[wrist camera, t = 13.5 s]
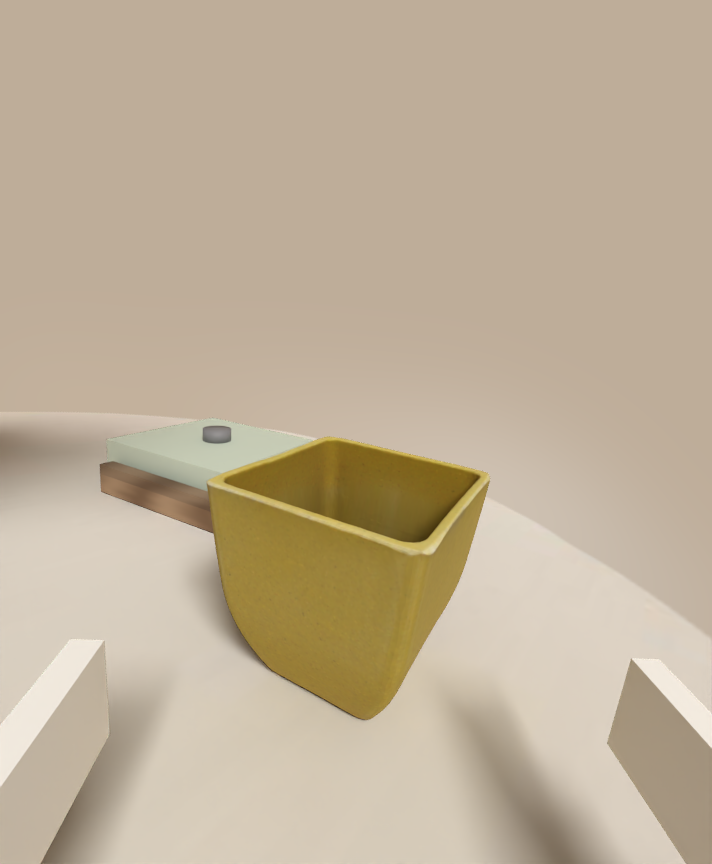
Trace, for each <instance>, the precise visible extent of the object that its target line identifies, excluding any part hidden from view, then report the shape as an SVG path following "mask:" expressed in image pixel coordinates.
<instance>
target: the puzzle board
mask: <svg viewBox="0 0 712 864" xmlns="http://www.w3.org/2000/svg"><path fill="white" fill-rule="evenodd" d="M100 477H101V492H104V493H107V494H109V495H112V496H115V497H117V498H120V499H123V500H126V501H128V502H131V503H134V504H136V505H139V506H142V507H144V508H147V509H150V510H153V511H155V512H158V513H161V514H163V515H166V516H169V517H171V518H174V519H177V520H180V521H182V522H185V523H188V524H190V525H193V526H196V527H198V528H201V529H204V530H207V531H209V532H212V533H214V531H213V524H212V517H211V510H210V503H209V496H208V491H205V490H202V489H199V488H195V487H192V486H189V485H186V484H183V483H180V482H177V481H174V480H171V479H167V478H164V477H161V476H158V475H155V474H152V473H149V472H146V471H142V470H139V469H136V468H133V467H130V466H127V465H124V464H121V463H118V462H114V461H111V462H107V463H103V464H100Z"/></svg>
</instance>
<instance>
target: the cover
mask: <svg viewBox="0 0 712 864" xmlns="http://www.w3.org/2000/svg"><path fill="white" fill-rule="evenodd" d="M106 441H107V461H108V462H111V461H114V462H118V463H121V464H124V465H127V466H130V467H133V468H136V469H139V470H142V471H146V472H149V473H152V474H155V475H158V476H161V477H164V478H167V479H171V480H174V481H177V482H180V483H183V484H186V485H189V486H192V487H195V488H199V489H202V490H205V491H208V489H207V483H206V482H207V481H208V480H209V479H211V478H213V477H215V476H217V475H220V474H222V473H224V472H227V471H230V470H233V469H236V468H239V467H242V466H245V465H247V464H251V463H254V462H257V461H260V460H264V459H267V458H270V457H273V456H276V455H279V454H281V453H284V452H286V451H289V450H291V449H294V448H296V447H299V446H302V445H305V444H307V443H309V442H312V441H313V440H309V439H305V438H301V437H296V436H292V435H287V434H283V433H279V432H274V431H270V430H265V429H261V428H256V427H252V426H248V425H243V424H239V423H234V422H230V421H226V420H221V419H217V418H209V419H204V420H199V421H194V422H189V423H184V424H179V425H174V426H170V427H165V428H160V429H155V430H150V431H145V432H140V433H135V434H130V435H125V436H120V437H115V438H110V439H106Z"/></svg>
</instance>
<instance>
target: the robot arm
mask: <svg viewBox="0 0 712 864" xmlns="http://www.w3.org/2000/svg"><path fill="white" fill-rule="evenodd" d="M109 734H110V729H109V712H108V694H107V676H106V659H105V641H104V640H86V639H70V640H69V641H68V643H67V644H66V645H65V646H64V648H63V649H62V650H61V651H60V652H59V654H58V655H57V656H56V657H55V659H54V660H53V661H52V662H51V663H50V665H49V666H48V667H47V668H46V670H45V671H44V672H43V673H42V674H41V676H40V677H39V678H38V679H37V681H36V682H35V683H34V684H33V685H32V687H31V688H30V689H29V690H28V692H27V693H26V694H25V695H24V696H23V698H22V699H21V700H20V701H19V703H18V704H17V705H16V706H15V708H14V709H13V710H12V711H11V712H10V714H9V715H8V716H7V717H6V719H5V720H4V721H3V722H2V723H1V725H0V864H41V862H42V860H43V858H44V856H45V854H46V853H47V851H48V849H49V847H50V845H51V843H52V841H53V839H54V838H55V836H56V834H57V832H58V830H59V828H60V826H61V824H62V823H63V821H64V819H65V817H66V815H67V813H68V811H69V809H70V808H71V806H72V804H73V802H74V800H75V798H76V796H77V794H78V793H79V791H80V789H81V787H82V785H83V783H84V781H85V779H86V778H87V776H88V774H89V772H90V770H91V768H92V766H93V764H94V763H95V761H96V759H97V757H98V755H99V753H100V751H101V749H102V748H103V746H104V744H105V742H106V740H107V738H108V736H109ZM607 744H608V745H609V747H610V748H611V750H612V751H613V753H614V754H615V756H616V757H617V759H618V760H619V762H620V764H621V765H622V767H623V768H624V770H625V771H626V773H627V774H628V776H629V777H630V779H631V780H632V782H633V783H634V785H635V786H636V788H637V789H638V791H639V792H640V794H641V796H642V797H643V799H644V800H645V802H646V803H647V805H648V806H649V808H650V809H651V811H652V812H653V814H654V815H655V817H656V818H657V820H658V821H659V823H660V824H661V826H662V828H663V829H664V831H665V832H666V834H667V835H668V837H669V838H670V840H671V841H672V843H673V844H674V846H675V847H676V849H677V850H678V852H679V853H680V855H681V856H682V858H683V859H684V861H685V863H686V864H712V713H711V712H710V711H709V710H708V709H707V708H706V707H705V706H704V705H703V704H702V703H701V702H700V701H699V700H698V699H697V698H696V697H695V696H694V695H693V694H692V693H691V692H690V690H689V689H688V688H687V687H686V686H685V685H684V684H683V683H682V682H681V681H680V680H679V679H678V678H677V677H676V676H675V675H674V674H673V673H672V672H671V671H670V670H669V669H668V668H667V667H666V666H665V665H664V664H663V663H662V662H661V661H660V660H659V659H635V658H631V661H630V665H629V668H628V672H627V675H626V679H625V682H624V686H623V689H622V693H621V696H620V700H619V703H618V707H617V710H616V714H615V717H614V721H613V724H612V728H611V731H610V735H609V738H608V742H607Z"/></svg>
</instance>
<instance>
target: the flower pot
mask: <svg viewBox="0 0 712 864" xmlns="http://www.w3.org/2000/svg"><path fill="white" fill-rule="evenodd" d="M489 482H490V476H489V474H488V473H486V472H483V471H479V470H475V469H471V468H467V467H463V466H459V465H455V464H451V463H446V462H441V461H437V460H433V459H429V458H425V457H420V456H416V455H411V454H407V453H403V452H398V451H394V450H390V449H386V448H381V447H377V446H373V445H369V444H364V443H360V442H356V441H351V440H347V439H342V438H335V437H324V438H320V439H317V440H314V441H312V442H309V443H307V444H305V445H302V446H299V447H296V448H294V449H291V450H289V451H286V452H284V453H281V454H279V455H276V456H273V457H270V458H267V459H264V460H260V461H257V462H254V463H251V464H247V465H245V466H242V467H239V468H236V469H233V470H230V471H227V472H224V473H222V474H220V475H217V476H215V477H213V478H211V479H209V480H208V481H207V482H206V483H207V489H208V496H209V503H210V510H211V517H212V524H213V531H214V538H215V545H216V552H217V558H218V564H219V570H220V576H221V582H222V587H223V591H224V595H225V598H226V601H227V604H228V607H229V610H230V612H231V614H232V617H233V619H234V621H235V623H236V625H237V626H238V628H239V630H240V631H241V633H242V635H243V636H244V638H245V639H246V641H247V642H248V643H249V645H250V646H251V647H252V649H253V650H254V651H255V652H256V654H257V655H258V656H259V657H260V658H261V659H262V661H263V662H264V663H265V664H266V665H267V666H268V667H269V668H270V669H271V670H272V671H274V672H276V673H277V674H279V675H281V676H283V677H285V678H287V679H288V680H290V681H292V682H294V683H296V684H297V685H299V686H301V687H303V688H305V689H307V690H309V691H310V692H312V693H314V694H316V695H318V696H320V697H321V698H323V699H325V700H327V701H328V702H330V703H332V704H334V705H335V706H337V707H339V708H341V709H342V710H344V711H346V712H348V713H350V714H352V715H353V716H355V717H358V718H360V719H365V720H368V719H371V718H373V717H374V716H376V715H377V714H378V713H380V712H381V711H382V710H383V709H384V708H385V707H386V706H387V705H388V704H389V703H390V702H391V700H392V699H393V697H394V696H395V694H396V693H397V691H398V689H399V688H400V686H401V684H402V682H403V680H404V678H405V676H406V675H407V673H408V671H409V669H410V667H411V665H412V664H413V662H414V660H415V658H416V656H417V655H418V653H419V651H420V649H421V648H422V646H423V644H424V642H425V641H426V639H427V637H428V635H429V634H430V632H431V630H432V629H433V627H434V625H435V624H436V622H437V620H438V619H439V617H440V615H441V614H442V612H443V611H444V609H445V607H446V606H447V604H448V602H449V600H450V598H451V596H452V594H453V592H454V590H455V588H456V586H457V584H458V582H459V579H460V577H461V575H462V572H463V569H464V566H465V563H466V560H467V557H468V554H469V550H470V547H471V544H472V541H473V537H474V534H475V530H476V527H477V523H478V520H479V517H480V513H481V510H482V507H483V503H484V500H485V497H486V492H487V488H488V485H489Z"/></svg>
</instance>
